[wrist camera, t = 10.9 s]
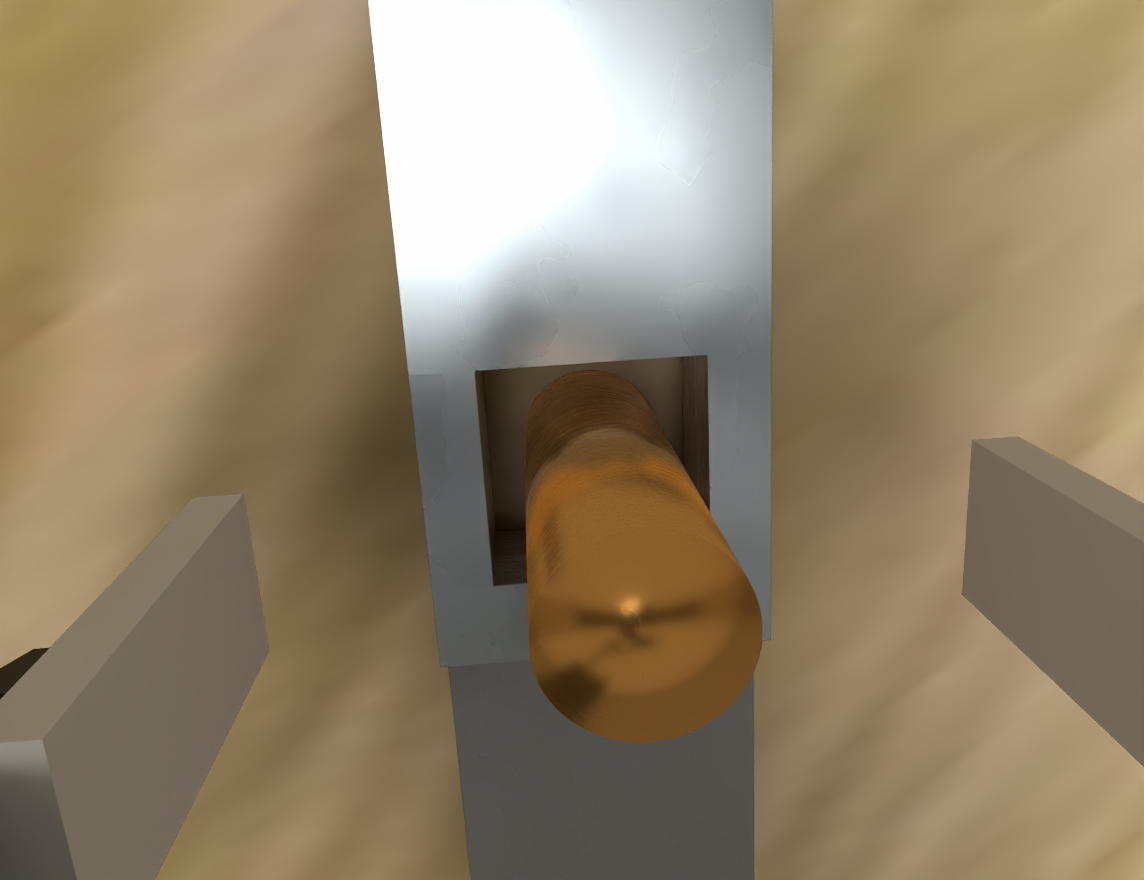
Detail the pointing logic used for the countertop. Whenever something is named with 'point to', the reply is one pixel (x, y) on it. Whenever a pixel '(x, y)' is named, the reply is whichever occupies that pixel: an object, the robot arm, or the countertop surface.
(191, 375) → the countertop surface
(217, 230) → the countertop surface
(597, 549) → the orange pin
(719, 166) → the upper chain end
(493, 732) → the lower chain end
